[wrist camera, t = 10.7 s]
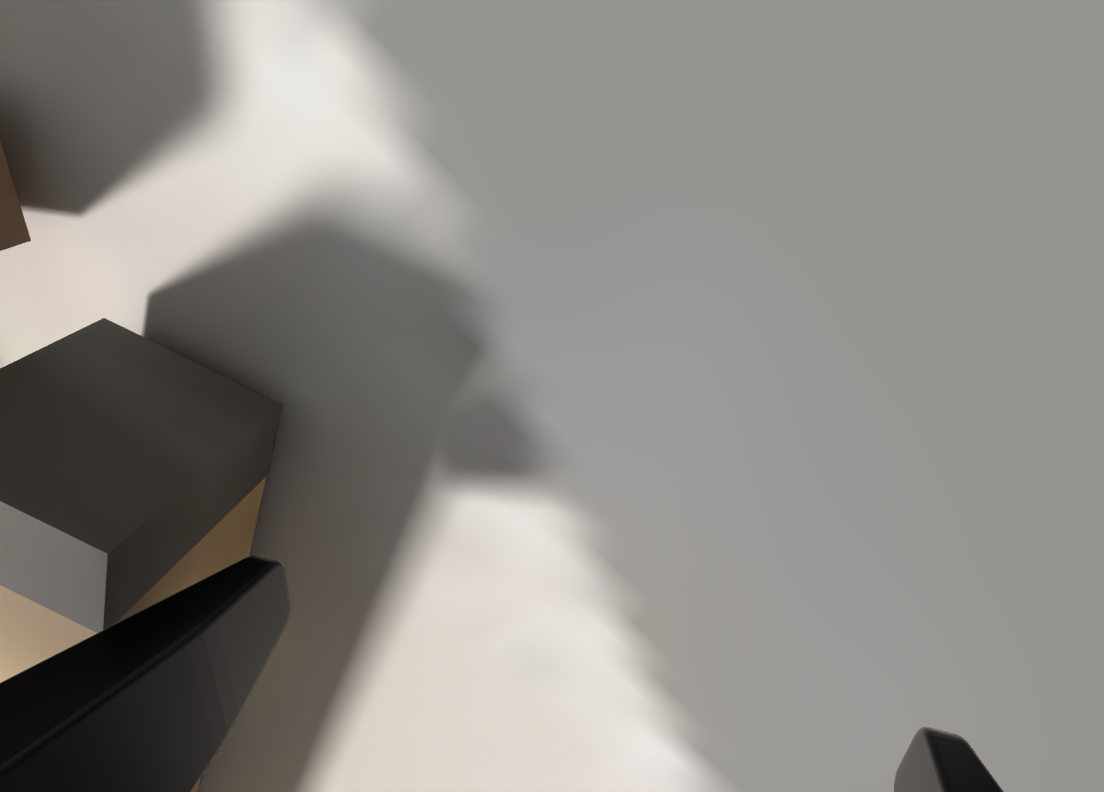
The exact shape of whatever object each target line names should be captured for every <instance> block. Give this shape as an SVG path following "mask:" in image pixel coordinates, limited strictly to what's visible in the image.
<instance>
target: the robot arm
mask: <svg viewBox="0 0 1104 792" xmlns="http://www.w3.org/2000/svg"><path fill="white" fill-rule="evenodd" d="M289 613H290V603H289V596H288V590H287V584H286V578H285V572H284V568H283V566H282V565H281V564H280V563H279V562H277V561H274V560H270V559H266V558H262V557H258V556H250V557H247V558H244V559H242V560H240V561H238V562H236V563H234V564H232V565H230V566H228V567H226V568H224V569H222V570H221V571H219V572H217V573H215V574H213V575H211V576H209V577H207V578H205V579H203V580H201V581H199V582H197V583H195V584H193V585H191V586H189V587H187V588H185V589H183V590H181V591H179V592H177V593H175V594H173V595H171V596H170V597H168V598H166V599H164V600H162V601H160V602H158V603H156V604H154V605H152V606H150V607H148V608H146V609H144V610H142V611H140V612H138V613H136V614H134V615H132V616H130V617H128V618H126V619H124V620H122V621H120V622H118V623H117V624H115V625H113V626H111V627H109V628H107V629H105V630H103V631H101V632H99V633H97V634H95V635H93V636H91V637H89V638H87V639H85V640H83V641H81V642H79V643H77V644H75V645H73V646H71V647H69V648H67V649H66V650H64V651H62V652H60V653H58V654H56V655H54V656H52V657H50V658H48V659H46V660H44V661H42V662H40V663H38V664H36V665H34V666H32V667H30V668H28V669H26V670H24V671H22V672H20V673H18V674H16V675H15V676H13V677H11V678H9V679H7V680H5V681H3V682H1V683H0V792H191V791H192V790H193V788H194V787H195V785H196V784H197V782H198V781H199V779H200V777H201V776H202V774H203V773H204V771H205V770H206V768H207V767H208V765H209V764H210V762H211V761H212V759H213V758H214V756H215V755H216V753H217V751H218V750H219V748H220V747H221V745H222V743H223V742H224V740H225V739H226V737H227V735H228V734H229V732H230V730H231V729H232V727H233V725H234V723H235V721H236V720H237V718H238V716H239V714H240V712H241V710H242V708H243V706H244V705H245V703H246V701H247V699H248V697H249V695H250V693H251V691H252V689H253V687H254V685H255V683H256V682H257V680H258V678H259V676H260V674H261V672H262V670H263V668H264V666H265V664H266V662H267V660H268V659H269V657H270V655H271V653H272V651H273V649H274V647H275V645H276V643H277V641H278V639H279V637H280V636H281V634H282V632H283V630H284V628H285V626H286V624H287V621H288V618H289ZM894 792H1003V790H1002V789H1001V788H1000V786H999V785H998V784H997V782H996V781H995V779H994V778H993V777H992V775H991V774H990V773H989V771H988V770H987V768H986V767H985V766H984V764H983V763H982V762H981V760H980V759H979V757H978V756H977V755H976V753H975V752H974V750H973V749H972V748H971V746H970V745H969V744H968V742H966V740H964V739H963V738H962V737H961V736H959V735H956V734H953V733H949V732H945V731H942V730H938V729H934V728H930V727H923V728H921V729H919V730H918V732H917V733H916V734H915V736H914V738H913V740H912V742H911V744H910V746H909V748H908V750H907V752H906V754H905V756H904V758H903V760H902V761H901V763H900V766H899V768H898V770H897V773H896V777H895V783H894Z"/></svg>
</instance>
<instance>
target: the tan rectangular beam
mask: <svg viewBox="0 0 1104 792" xmlns="http://www.w3.org/2000/svg"><path fill="white" fill-rule="evenodd" d="M28 241H31V239H30V236H29V233H28V229H27V226H26V223H25V220H24V216H23V213H22V210H21V206H20V203H19V200H18V197H17V193H16V190H15V187H14V183H13V180H12V177H11V174H10V170H9V167H8V164H7V160H6V157H5V154H4V151H3V147H2V144H1V141H0V251H1V250H4V249H7V248H10V247H13V246H16V245H19V244H22V243H25V242H28Z"/></svg>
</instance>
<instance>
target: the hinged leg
mask: <svg viewBox="0 0 1104 792" xmlns="http://www.w3.org/2000/svg"><path fill="white" fill-rule="evenodd" d="M281 408H282V404H280V403H278V402H276V401H274V400H272V399H270V398H268V397H265V396H263V395H261V394H259V393H257V392H255V391H253V390H251V389H249V388H247V387H245V386H243V385H241V384H239V383H237V382H235V381H233V380H230V379H228V378H226V377H224V376H222V375H220V374H218V373H216V372H214V371H212V370H210V369H208V368H206V367H204V366H202V365H200V364H198V363H195V362H193V361H191V360H189V359H187V358H185V357H183V356H181V355H179V354H177V353H175V352H173V351H171V350H169V349H167V348H165V347H163V346H160V345H158V344H156V343H154V342H152V341H150V340H148V339H146V338H144V337H142V336H140V335H138V334H136V333H134V332H132V331H130V330H128V329H125V328H123V327H121V326H119V325H117V324H115V323H113V322H111V321H109V320H107V319H105V318H103V319H101V320H99V321H97V322H95V323H93V324H91V325H89V326H87V327H85V328H83V329H81V330H78V331H76V332H74V333H72V334H70V335H68V336H66V337H64V338H62V339H60V340H58V341H56V342H54V343H52V344H50V345H48V346H46V347H44V348H42V349H40V350H38V351H35V352H33V353H31V354H29V355H27V356H25V357H23V358H21V359H19V360H17V361H15V362H13V363H11V364H9V365H7V366H5V367H3V368H1V369H0V683H1V682H3V681H5V680H7V679H9V678H11V677H13V676H15V675H16V674H18V673H20V672H22V671H24V670H26V669H28V668H30V667H32V666H34V665H36V664H38V663H40V662H42V661H44V660H46V659H48V658H50V657H52V656H54V655H56V654H58V653H60V652H62V651H64V650H66V649H67V648H69V647H71V646H73V645H75V644H77V643H79V642H81V641H83V640H85V639H87V638H89V637H91V636H93V635H95V634H97V633H99V632H101V631H103V630H105V629H107V628H109V627H111V626H113V625H115V624H117V623H118V622H120V621H122V620H124V619H126V618H128V617H130V616H132V615H134V614H136V613H138V612H140V611H142V610H144V609H146V608H148V607H150V606H152V605H154V604H156V603H158V602H160V601H162V600H164V599H166V598H168V597H170V596H171V595H173V594H175V593H177V592H179V591H181V590H183V589H185V588H187V587H189V586H191V585H193V584H195V583H197V582H199V581H201V580H203V579H205V578H207V577H209V576H211V575H213V574H215V573H217V572H219V571H221V570H222V569H224V568H226V567H228V566H230V565H232V564H234V563H236V562H238V561H240V560H242V559H244V558H247V557H249V555H250V551H251V546H252V542H253V537H254V532H255V528H256V523H257V519H258V514H259V509H260V505H261V500H262V496H263V491H264V487H265V482H266V477H267V473H268V468H269V464H270V459H271V454H272V450H273V445H274V441H275V436H276V431H277V427H278V422H279V418H280V413H281ZM200 781H201V777H200V779H199V781H198V782H197V784H196V785H195V787H194V788H193V790H192V791H191V792H198V790H199V785H200Z"/></svg>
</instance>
